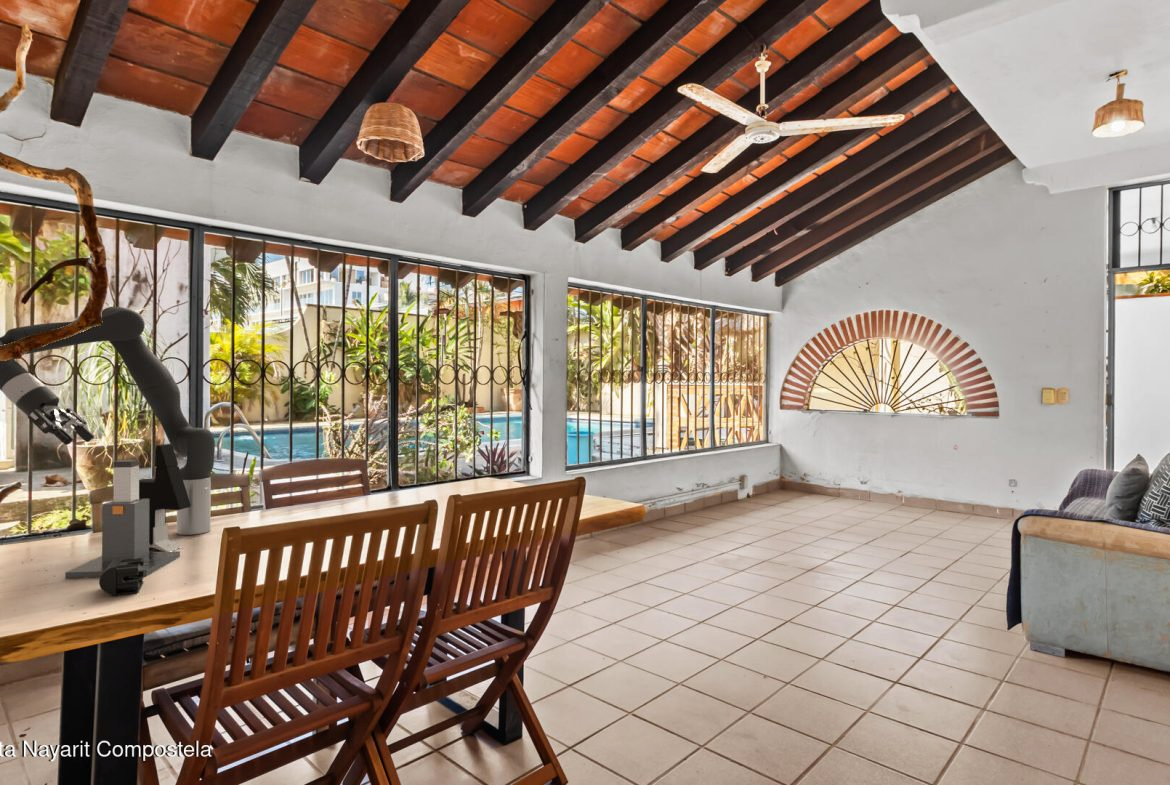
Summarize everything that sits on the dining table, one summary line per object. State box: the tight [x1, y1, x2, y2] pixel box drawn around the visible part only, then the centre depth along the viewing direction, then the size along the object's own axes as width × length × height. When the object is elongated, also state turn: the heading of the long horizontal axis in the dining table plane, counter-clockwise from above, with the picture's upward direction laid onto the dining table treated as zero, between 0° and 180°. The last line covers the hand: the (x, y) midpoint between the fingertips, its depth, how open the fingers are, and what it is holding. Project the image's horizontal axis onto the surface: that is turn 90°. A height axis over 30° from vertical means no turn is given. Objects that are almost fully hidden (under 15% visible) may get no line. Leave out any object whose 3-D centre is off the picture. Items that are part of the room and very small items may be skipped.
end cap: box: [98, 557, 145, 597], centre depth 149 cm, size 10×7×7 cm
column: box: [112, 459, 140, 503], centre depth 167 cm, size 4×4×25 cm
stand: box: [64, 499, 181, 579], centre depth 167 cm, size 18×18×17 cm
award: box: [139, 443, 191, 552], centre depth 185 cm, size 15×5×30 cm, turn 84°
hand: (81, 440), depth 166 cm, fingers open, 8 cm apart
